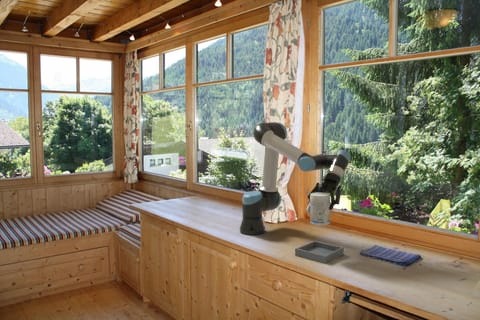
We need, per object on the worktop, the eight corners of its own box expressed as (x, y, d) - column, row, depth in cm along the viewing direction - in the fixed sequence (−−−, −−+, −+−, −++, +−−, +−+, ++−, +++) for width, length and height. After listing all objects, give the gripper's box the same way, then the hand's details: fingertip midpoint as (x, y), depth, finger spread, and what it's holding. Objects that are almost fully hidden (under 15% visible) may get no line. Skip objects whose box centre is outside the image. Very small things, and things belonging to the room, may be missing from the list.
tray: (295, 255, 192) (295, 248, 192) (314, 246, 205) (314, 240, 204) (325, 263, 181) (325, 256, 180) (343, 254, 193) (343, 247, 193)
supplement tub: (321, 220, 198) (321, 191, 196) (334, 224, 189) (334, 194, 188) (305, 223, 193) (306, 193, 191) (318, 227, 185) (319, 196, 183)
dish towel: (407, 268, 175) (407, 262, 175) (358, 255, 192) (358, 250, 192) (422, 258, 187) (422, 253, 186) (375, 247, 204) (375, 242, 203)
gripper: (356, 183, 193) (340, 221, 183) (317, 179, 208) (300, 214, 198) (351, 173, 188) (334, 212, 178) (312, 170, 203) (294, 205, 194)
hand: (316, 213), depth 188 cm, fingers closed on supplement tub, 9 cm apart
